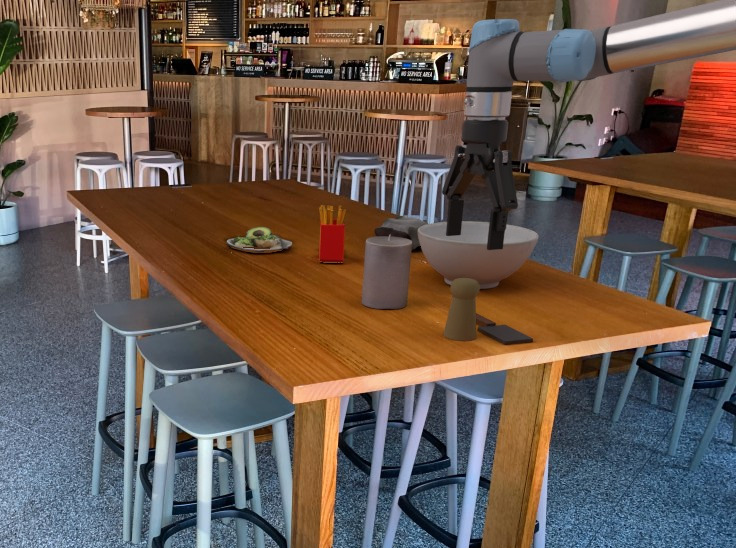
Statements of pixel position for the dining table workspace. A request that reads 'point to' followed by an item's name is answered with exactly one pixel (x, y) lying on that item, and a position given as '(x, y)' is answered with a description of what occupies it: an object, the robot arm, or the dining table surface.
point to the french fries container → (331, 235)
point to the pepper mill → (462, 310)
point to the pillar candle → (386, 272)
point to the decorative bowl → (475, 252)
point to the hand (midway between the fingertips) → (473, 242)
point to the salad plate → (259, 241)
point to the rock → (401, 228)
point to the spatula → (501, 332)
